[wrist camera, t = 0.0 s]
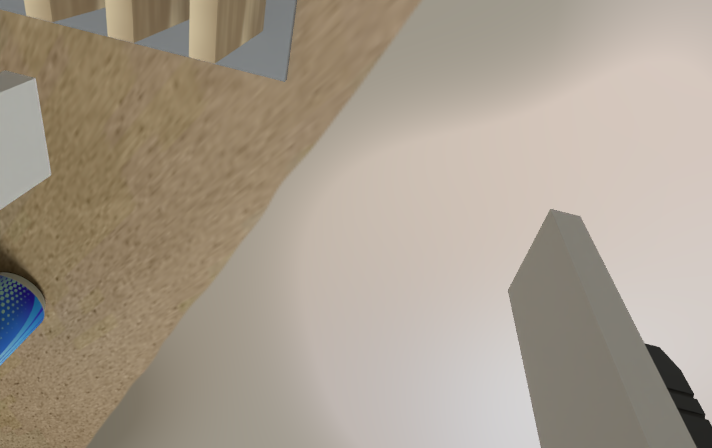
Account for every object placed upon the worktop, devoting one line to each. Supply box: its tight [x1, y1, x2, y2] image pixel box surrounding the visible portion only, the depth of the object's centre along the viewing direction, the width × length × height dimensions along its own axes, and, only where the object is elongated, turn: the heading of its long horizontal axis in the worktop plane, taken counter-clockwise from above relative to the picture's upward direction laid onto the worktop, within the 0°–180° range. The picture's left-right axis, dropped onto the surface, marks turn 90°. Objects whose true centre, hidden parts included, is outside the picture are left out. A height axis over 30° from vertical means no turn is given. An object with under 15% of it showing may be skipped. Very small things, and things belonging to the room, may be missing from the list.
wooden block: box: [189, 0, 266, 64], centre depth 32 cm, size 2×5×10 cm, turn 168°
